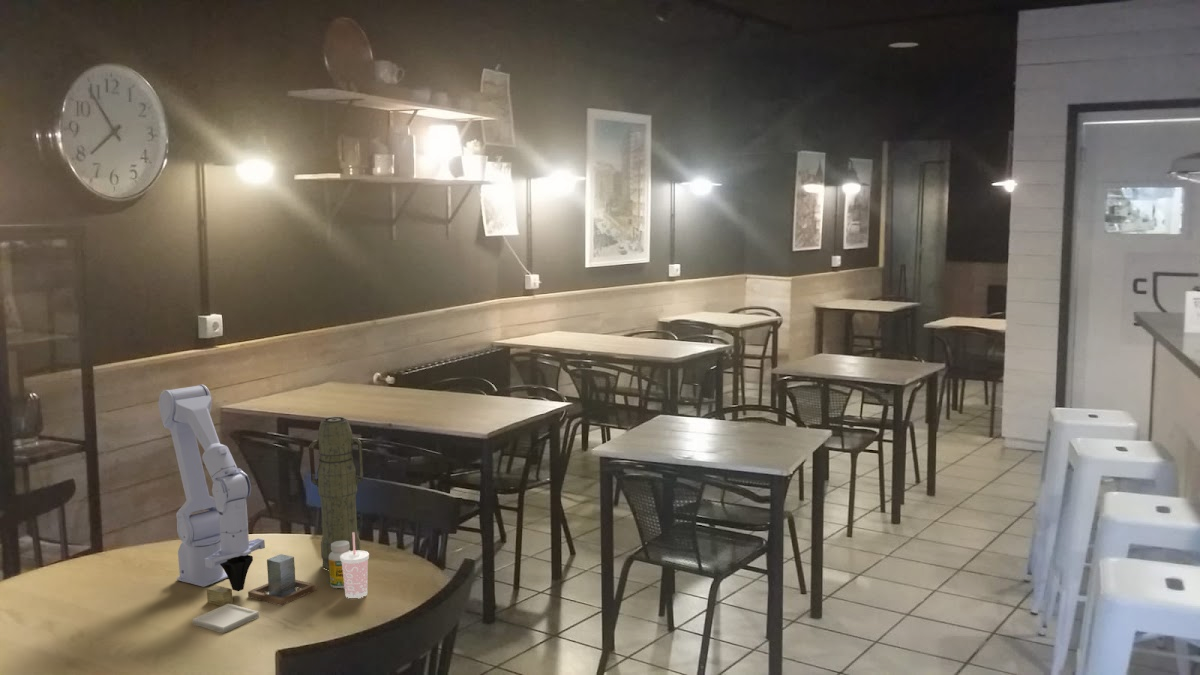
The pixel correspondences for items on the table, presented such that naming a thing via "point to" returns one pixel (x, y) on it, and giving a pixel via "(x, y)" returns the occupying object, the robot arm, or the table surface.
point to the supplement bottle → (337, 563)
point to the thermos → (336, 483)
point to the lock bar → (219, 595)
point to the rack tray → (225, 618)
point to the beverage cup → (355, 572)
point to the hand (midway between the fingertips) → (237, 589)
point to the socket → (306, 589)
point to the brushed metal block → (281, 575)
